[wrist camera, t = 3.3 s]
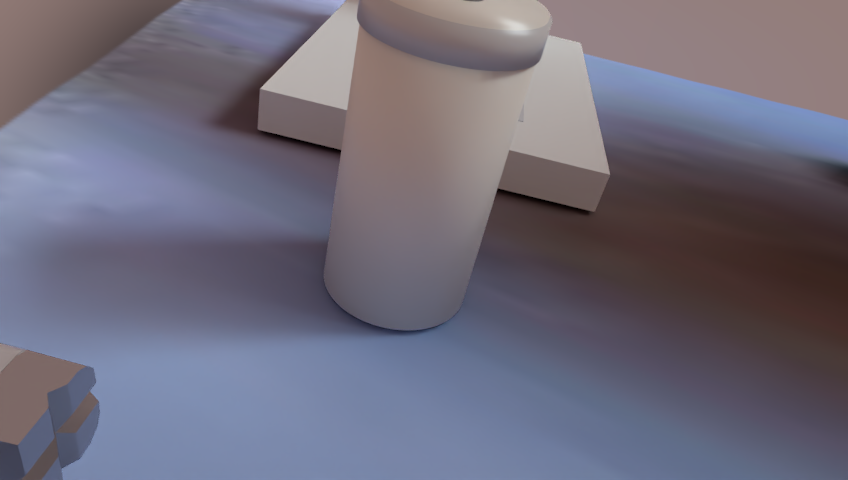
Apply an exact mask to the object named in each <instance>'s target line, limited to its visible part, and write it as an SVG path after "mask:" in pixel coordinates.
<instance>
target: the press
mask: <svg viewBox="0 0 848 480" xmlns="http://www.w3.org/2000/svg"><path fill="white" fill-rule="evenodd" d="M537 1H538V0H537ZM358 3H359V0H346V1H345V2H344V4H343V5H342V6H341V7H340V8H339V9H338V10H337V11H336V12H335V13H334V14H333V15H332V16H331V17H330V18H329V19H328V20H327V21H326V22H325V23H324V24H323V25H322V26H321V27H320V28H319V29H318V30H317V31H316V32H315V33H314V34H313V35H312V36H311V37H310V38H309V39H308V40H307V41H306V42H305V43H304V44H303V45H302V46H301V47H300V48H299V49H298V51H297V52H296V53H295V54H294V55H293V56H292V57H291V58H290V59H289V60H288V61H287V62H286V63H285V64H284V65H283V66H282V67H281V68H280V69H279V70H278V71H277V72H276V73H275V74H274V75H273V76H272V77H271V78H270V79H269V80H268V81H267V82H266V83H265V84H264V85H263V86H262V87H261V88H260V97H259V113H258V130H262V131H266V132H270V133H274V134H278V135H282V136H286V137H290V138H295V139H299V140H303V141H307V142H311V143H315V144H319V145H323V146H327V147H331V148H335V149H339V150H341V149H342V142H343V135H344V128H345V121H346V114H347V107H348V100H349V93H350V86H351V79H352V72H353V65H354V58H355V51H356V44H357V37H358V30H359V22H358V20H357V11H358ZM609 176H610V172H609V167H608V163H607V158H606V154H605V149H604V145H603V140H602V136H601V131H600V127H599V122H598V118H597V113H596V109H595V104H594V100H593V95H592V91H591V86H590V82H589V77H588V73H587V69H586V64H585V60H584V55H583V51H582V46H581V43H578V42H574V41H570V40H566V39H562V38H558V37H554V36H550V35H548V38H547V41H546V44H545V48H544V51H543V54H542V57H541V60H540V62H538V63H537V64H536V65H535V68H534V71H533V74H532V77H531V81H530V84H529V87H528V90H527V94H526V97H525V100H524V104H523V107H522V110H521V113H520V117H519V120H518V123H517V126H516V130H515V133H514V136H513V139H512V143H511V146H510V149H509V153H508V156H507V159H506V162H505V166H504V169H503V172H502V175H501V179H500V182H499V185H498V188H499V189H503V190H507V191H511V192H515V193H519V194H523V195H527V196H531V197H535V198H539V199H543V200H547V201H552V202H556V203H560V204H564V205H568V206H572V207H576V208H580V209H584V210H588V211H592V212H595V210H596V208H597V205H598V203H599V201H600V198H601V196H602V193H603V191H604V188H605V186H606V184H607V181H608V179H609Z"/></svg>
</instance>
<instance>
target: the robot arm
mask: <svg viewBox="0 0 848 480" xmlns="http://www.w3.org/2000/svg"><path fill="white" fill-rule="evenodd" d="M95 383H96V379H95V373H94V368H92V367H88V366H85V365H81V364H77V363H73V362H70V361H66V360H62V359H59V358H55V357H51V356H48V355H44V354H40V353H36V352H33V351H29V350H25V349H21V348H17V347H14V346H10V345H6V344H2V343H0V480H63V476H62V468H64V467H66V466H67V465H69V464H71V463H73V462H75V461H77V460H79V459H80V458H81V456H82V455H83V453H84V452H85V450H86V449H87V447H88V446H89V444H90V443H91V440H92V438H93V436H94V433H95V431H96V428H97V426H98V420H99V414H100V409H99V401H98V400H97V399H96V398H95V397H94V396H93V394H92V393H91V392H90V390H91V389H92V387H93V386H94V385H95Z"/></svg>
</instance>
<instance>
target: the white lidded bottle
mask: <svg viewBox="0 0 848 480" xmlns="http://www.w3.org/2000/svg"><path fill="white" fill-rule="evenodd" d="M357 20H358V22H359V30H358V37H357V44H356V51H355V58H354V65H353V72H352V79H351V86H350V93H349V100H348V107H347V114H346V121H345V128H344V135H343V142H342V149H341V156H340V163H339V170H338V177H337V184H336V191H335V198H334V205H333V212H332V218H331V225H330V232H329V239H328V246H327V253H326V260H325V267H324V282H325V286H326V288H327V291H328V292H329V294H330V296H331V297H332V298H333V299H334V301H335V302H336V303H337V304H338V305H339V306H340V307H341V308H343V309H344V310H345V311H347V312H348V313H349V314H351V315H353V316H354V317H356V318H358V319H360V320H362V321H364V322H367V323H370V324H372V325H375V326H379V327H383V328H388V329H394V330H421V329H427V328H431V327H435V326H437V325H440V324H442V323H444V322H446V321H448V320H449V319H450V318H452V317H453V316H454V315H455V314H456V313H457V312H458V310H459V309H460V307H461V305H462V303H463V300H464V296H465V293H466V290H467V287H468V283H469V280H470V277H471V273H472V270H473V267H474V264H475V260H476V257H477V254H478V251H479V247H480V244H481V241H482V238H483V234H484V231H485V228H486V224H487V221H488V218H489V215H490V211H491V208H492V205H493V202H494V198H495V195H496V192H497V188H498V185H499V182H500V179H501V175H502V172H503V169H504V166H505V162H506V159H507V156H508V153H509V149H510V146H511V143H512V139H513V136H514V133H515V130H516V126H517V123H518V120H519V117H520V113H521V110H522V107H523V104H524V100H525V97H526V94H527V90H528V87H529V84H530V81H531V77H532V74H533V71H534V68H535V65H536V64H537V63H538V62H540V60H541V57H542V54H543V51H544V48H545V44H546V41H547V38H548V35H549V31H550V28H551V25H552V17H551V15H550V13H549V11H548V10H547V8H546V7H545V6H543V5H542V4H541V3H540V2H538V1H537V0H359V3H358V11H357Z"/></svg>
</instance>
